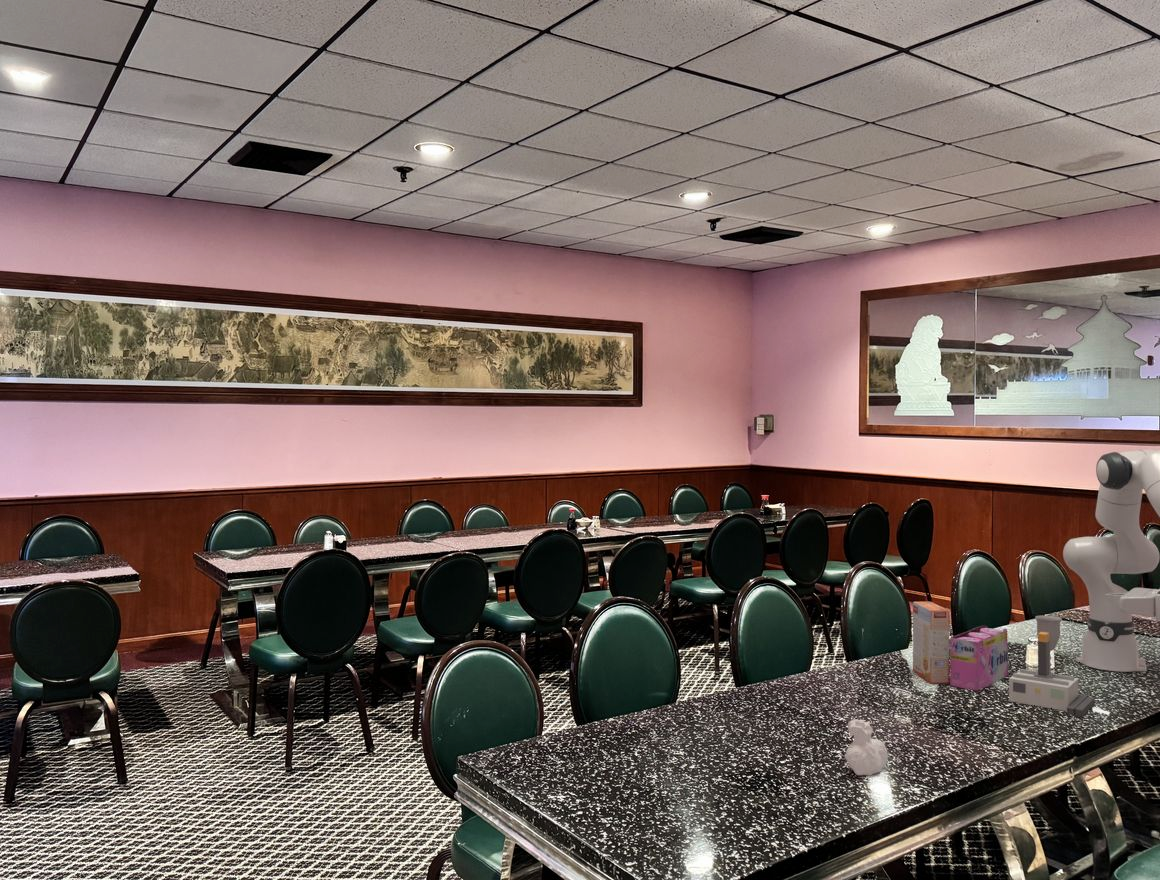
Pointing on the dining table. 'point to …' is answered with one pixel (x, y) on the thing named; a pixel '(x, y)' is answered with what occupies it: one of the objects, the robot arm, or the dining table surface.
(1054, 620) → the chalice
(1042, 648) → the breaker lever
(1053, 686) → the box
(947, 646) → the cracker box
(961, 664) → the gum box
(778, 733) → the dining table surface
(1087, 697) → the dark grey grooved bar
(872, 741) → the bust
